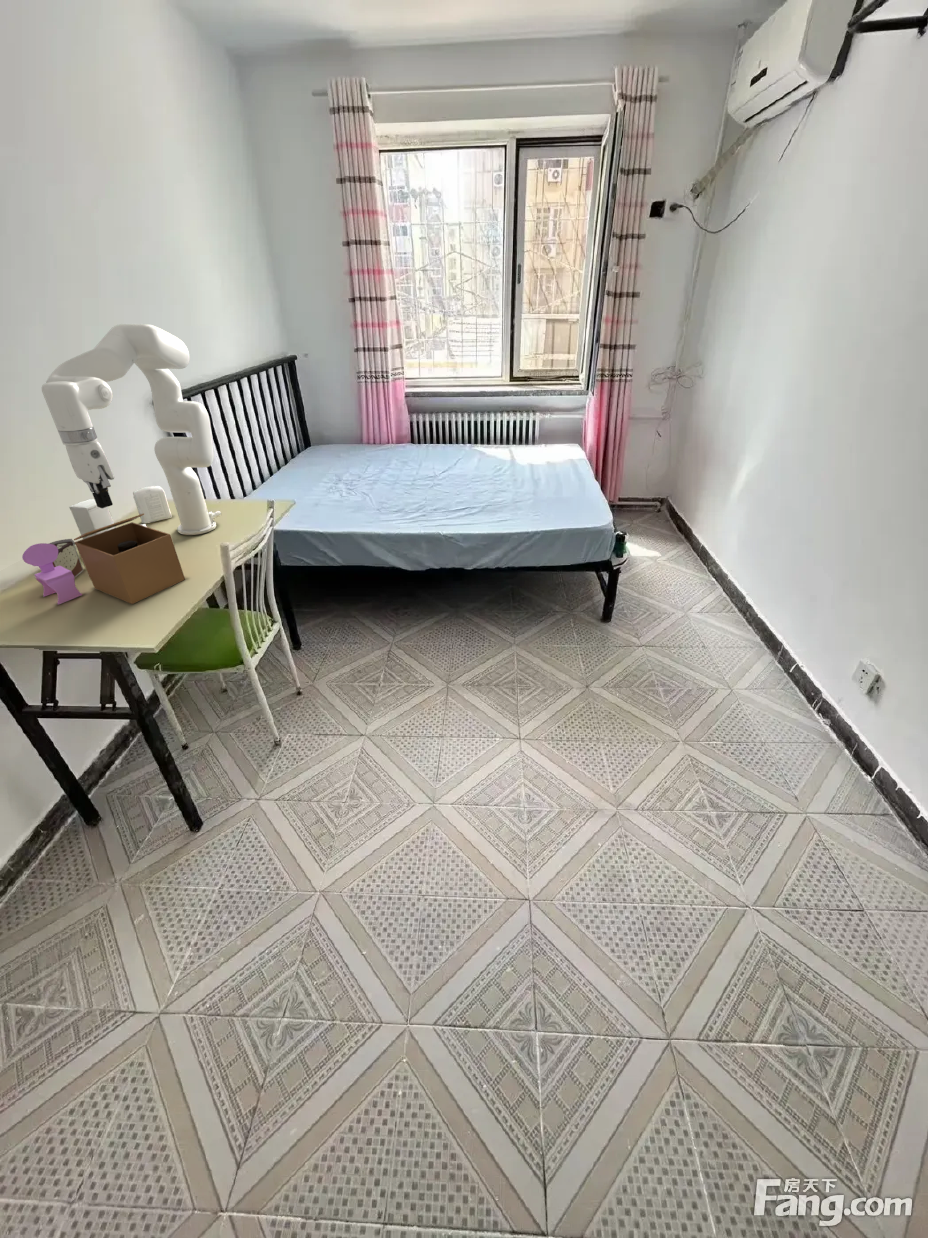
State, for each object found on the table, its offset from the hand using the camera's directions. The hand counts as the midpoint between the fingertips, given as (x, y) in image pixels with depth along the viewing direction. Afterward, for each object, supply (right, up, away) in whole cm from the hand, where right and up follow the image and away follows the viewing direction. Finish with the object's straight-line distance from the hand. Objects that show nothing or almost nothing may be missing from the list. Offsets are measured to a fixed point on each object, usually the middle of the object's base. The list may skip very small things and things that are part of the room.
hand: (105, 506), depth 140 cm
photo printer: (-17, +6, +53) cm, 56 cm away
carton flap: (-2, -5, +5) cm, 7 cm away
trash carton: (+2, -20, +12) cm, 23 cm away
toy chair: (-15, -24, +6) cm, 29 cm away
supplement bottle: (+2, -20, +12) cm, 23 cm away
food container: (-22, -18, +15) cm, 32 cm away
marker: (-16, -2, +41) cm, 44 cm away
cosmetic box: (-22, -7, +32) cm, 39 cm away
